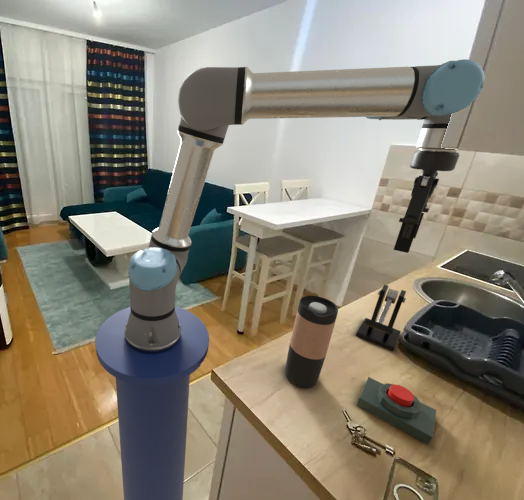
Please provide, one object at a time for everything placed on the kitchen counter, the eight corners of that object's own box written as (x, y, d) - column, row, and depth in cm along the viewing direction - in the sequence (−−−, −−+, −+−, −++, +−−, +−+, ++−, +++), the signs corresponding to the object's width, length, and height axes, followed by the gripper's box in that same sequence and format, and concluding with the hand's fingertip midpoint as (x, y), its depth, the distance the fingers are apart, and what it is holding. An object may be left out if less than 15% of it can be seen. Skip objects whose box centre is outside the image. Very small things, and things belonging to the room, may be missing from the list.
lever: (390, 336, 72) (392, 331, 71) (363, 325, 76) (364, 320, 75) (405, 299, 78) (407, 294, 77) (379, 291, 82) (381, 285, 80)
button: (385, 398, 59) (388, 392, 58) (389, 387, 62) (392, 381, 61) (410, 411, 56) (413, 404, 56) (412, 398, 59) (415, 392, 58)
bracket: (393, 351, 77) (411, 304, 72) (355, 335, 83) (370, 290, 78) (399, 334, 84) (416, 290, 78) (364, 320, 90) (378, 278, 84)
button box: (356, 405, 62) (361, 391, 60) (365, 383, 67) (370, 370, 65) (428, 445, 54) (436, 430, 52) (432, 417, 59) (439, 403, 58)
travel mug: (299, 360, 73) (316, 292, 66) (325, 382, 67) (347, 310, 59) (276, 369, 70) (291, 299, 63) (301, 394, 64) (321, 318, 56)
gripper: (460, 153, 51) (419, 263, 59) (461, 149, 68) (429, 235, 76) (407, 151, 55) (376, 253, 63) (420, 148, 72) (394, 228, 80)
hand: (405, 243), depth 70 cm, fingers open, 13 cm apart
